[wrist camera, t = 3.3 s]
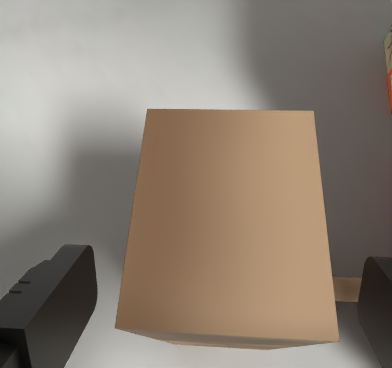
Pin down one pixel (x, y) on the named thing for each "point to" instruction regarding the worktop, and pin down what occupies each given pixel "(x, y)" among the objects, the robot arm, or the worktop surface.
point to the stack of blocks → (389, 62)
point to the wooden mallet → (230, 233)
